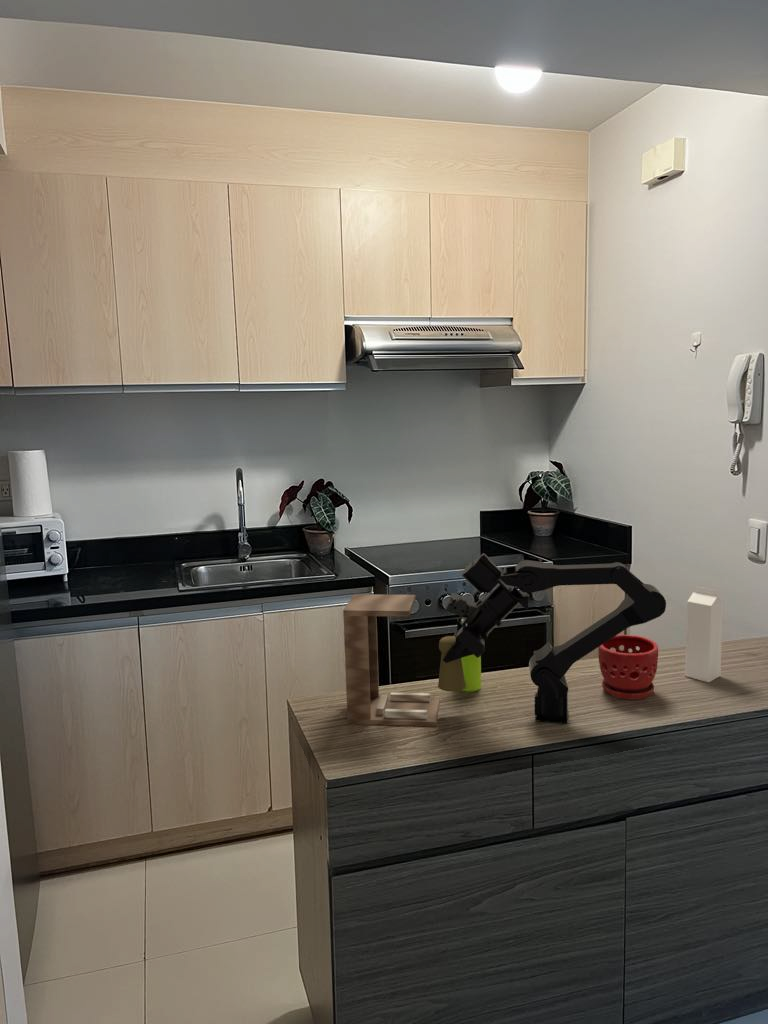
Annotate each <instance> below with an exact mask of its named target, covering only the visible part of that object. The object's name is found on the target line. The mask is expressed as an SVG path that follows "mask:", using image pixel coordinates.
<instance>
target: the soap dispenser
mask: <svg viewBox="0 0 768 1024" xmlns="http://www.w3.org/2000/svg"><path fill="white" fill-rule="evenodd" d="M462 619H463V618H461V619H460V620H462ZM480 637H481V636H480ZM481 638H482V637H481ZM461 659H462V666H463V672H464V679H465V685H466V687H465V688H464V689H462V690H461V692H475V691H480V690H481V688H482V655H481V656H480V657H478V658H477V657H476V656H475V655H474V654H473V655H469V656H466V657H463V658H461Z"/></svg>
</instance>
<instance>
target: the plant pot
mask: <svg viewBox="0 0 768 1024" xmlns="http://www.w3.org/2000/svg"><path fill="white" fill-rule="evenodd" d="M620 646H623V647H624V648H623V649H620ZM637 647H638V648H639V650H638V649H637ZM612 648H613V649H615V651H614V650H611V649H612ZM597 649H598V651H597V652H598V653H597V654H598V663H599V669H600V673H601V675H602V677H603V679H602V681H601V687H602V689H603V690H604V691H605V692H606V693H607V694H609V695H611V696H612V697H616V698H619V699H622V700H623V699H624V700H640V699H644V698H647V697H649V696H651V695H652V694H653V692H654V690H655V685H654V683H653V681H654V680H655V677H656V674H657V671H658V661H659V646H658V644H657V642H655V641H653V640H652V639H650V638H647V637H644V636H639V635H633V634H618V635H616V636H615V637H613V638H612V639H610V640H608V641H607V642H605V643H604V644H602V645H601V646H599V647H598V648H597ZM630 650H631V652H630Z"/></svg>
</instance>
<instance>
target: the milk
mask: <svg viewBox="0 0 768 1024" xmlns="http://www.w3.org/2000/svg"><path fill="white" fill-rule="evenodd" d="M686 604H687V605H686V632H685V633H686V634H685V635H686V636H685V637H686V638H685V658H684V659H685V663H684V666H685V667H684V676H685V677H687V678H690V679H695V680H698V681H702V682H705V683H710V682H712V681H714V680H715V679H717V678H719V677H721V668H722V644H723V642H722V641H723V618H724V615H723V613H724V600H723V599H722V598H721V597H719V591H718V590H717V589H712V588H707V587H704V586H703V587H701V586H696V585H694V587H693V592H692V593H691V595H690V596H689V598H688V600H687V603H686Z"/></svg>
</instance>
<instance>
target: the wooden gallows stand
mask: <svg viewBox="0 0 768 1024" xmlns="http://www.w3.org/2000/svg"><path fill="white" fill-rule="evenodd" d="M415 602H416V594H382V593H381V594H378V593H377V594H372V593H371V594H370V593H369V594H365V593H360V594H359V593H358V594H357V593H356V594H353V595H352V597H351V598H350V600H349V601H348V603H347V604H346V606H345V607H344V608H343V611H342V613H343V614H342V615H343V639H344V662H345V663H344V664H345V686H346V688H345V690H346V716H347V724H349V725H351V724H353V725H377V724H390V725H389V726H409V725H411V726H412V725H415V726H414V727H419V726H420V727H436V726H437V721H438V720H437V719H438V715H439V709H440V703H441V701H440V697H431V693H429V692H428V693H426V692H424V693H423V692H390V694H388V693H385V694H384V693H382V694H381V695H380V683H379V682H380V681H379V655H378V654H379V653H378V651H379V649H378V647H379V646H378V622H377V617H398V618H399V617H403V618H404V617H407V618H408V617H411V613H412V611H413V608H414V606H415V604H416V603H415ZM389 695H390V696H389ZM391 724H393V725H391Z"/></svg>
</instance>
